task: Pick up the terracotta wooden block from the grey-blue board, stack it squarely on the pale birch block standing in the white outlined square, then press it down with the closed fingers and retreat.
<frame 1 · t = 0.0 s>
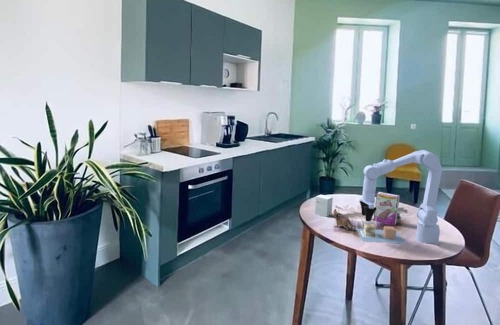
hand: (366, 218, 173), 10 cm above the table, tool pointing down, fingers open, 7 cm apart
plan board: (379, 237, 177), on the table
terracotta block: (388, 237, 175), point 1 cm above the table, touching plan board
candy bar box: (384, 223, 196), on the table
dinosaur figurine: (341, 229, 186), on the table
birch block: (369, 234, 178), point 1 cm above the table, touching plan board
small box: (322, 214, 207), on the table
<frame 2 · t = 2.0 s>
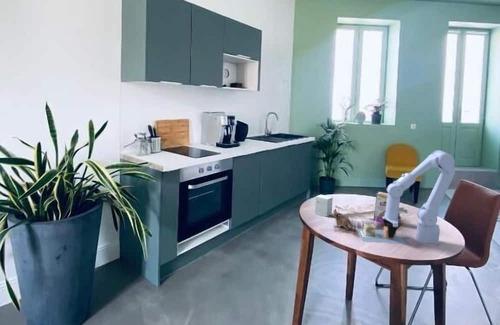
hand: (389, 235, 175), 2 cm above the table, tool pointing down, fingers closed on terracotta block, 4 cm apart
terracotta block: (388, 237, 175), point 1 cm above the table, touching gripper, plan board
everything else where it was.
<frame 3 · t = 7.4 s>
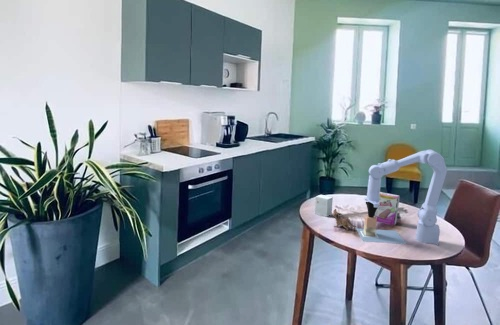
hand: (370, 217, 176), 10 cm above the table, tool pointing down, fingers closed, pressing on terracotta block
terracotta block: (370, 225, 177), point 5 cm above the table, touching birch block, gripper
birch block: (369, 234, 178), point 1 cm above the table, touching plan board, terracotta block
everything else where it was.
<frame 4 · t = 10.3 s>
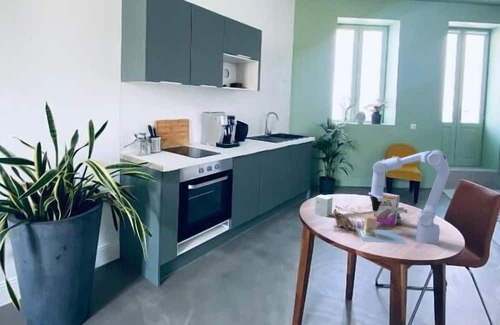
hand: (375, 210, 183), 10 cm above the table, tool pointing down, fingers closed
terracotta block: (370, 225, 177), point 5 cm above the table, touching birch block
everything else where it was.
at the end: terracotta block 0.1 cm from the target spot, point 5.3 cm above the table; terracotta block 0.1 cm from the birch block (horizontally); terracotta block tilted 0° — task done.
